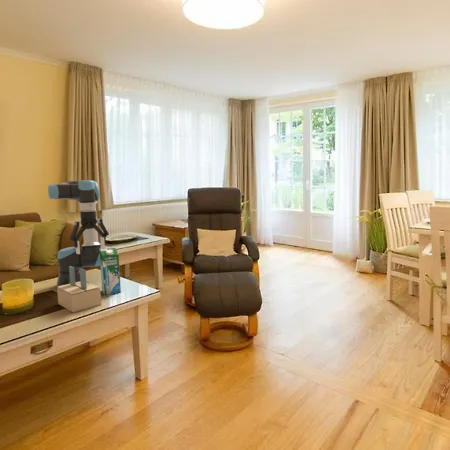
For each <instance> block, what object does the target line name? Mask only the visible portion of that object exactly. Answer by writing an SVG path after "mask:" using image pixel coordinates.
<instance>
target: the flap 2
mask: <svg viewBox="0 0 450 450" xmlns="http://www.w3.org/2000/svg"><path fill="white" fill-rule="evenodd" d="M79 271H80V282H76V286H78V287H80V288H82V289H84V290H86V291H88V290H92V289H96V288H100V286H98V285H96V284H93V283H91V282H89V281H87V273H86V269H84V268H83V267H81V268H79Z"/></svg>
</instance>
